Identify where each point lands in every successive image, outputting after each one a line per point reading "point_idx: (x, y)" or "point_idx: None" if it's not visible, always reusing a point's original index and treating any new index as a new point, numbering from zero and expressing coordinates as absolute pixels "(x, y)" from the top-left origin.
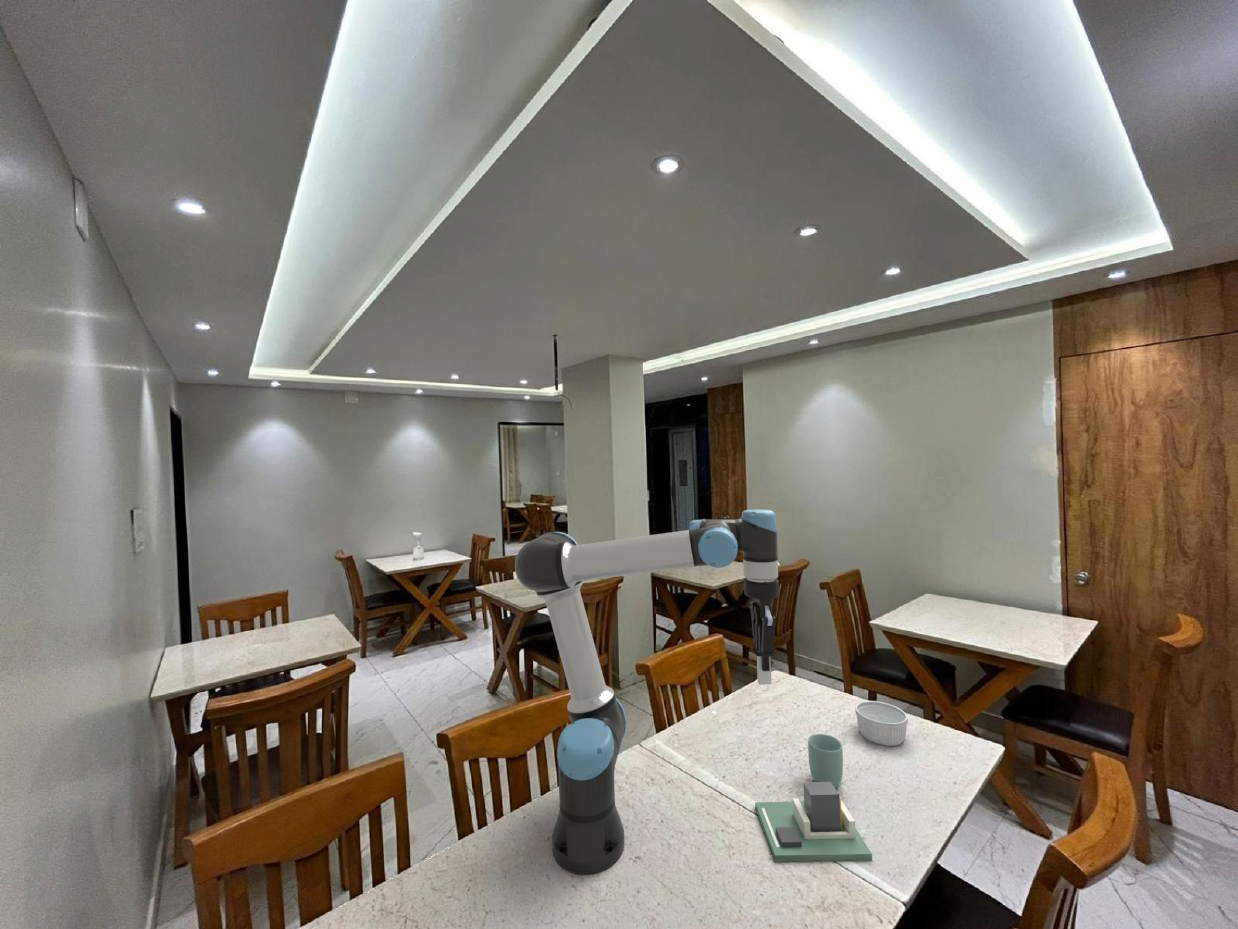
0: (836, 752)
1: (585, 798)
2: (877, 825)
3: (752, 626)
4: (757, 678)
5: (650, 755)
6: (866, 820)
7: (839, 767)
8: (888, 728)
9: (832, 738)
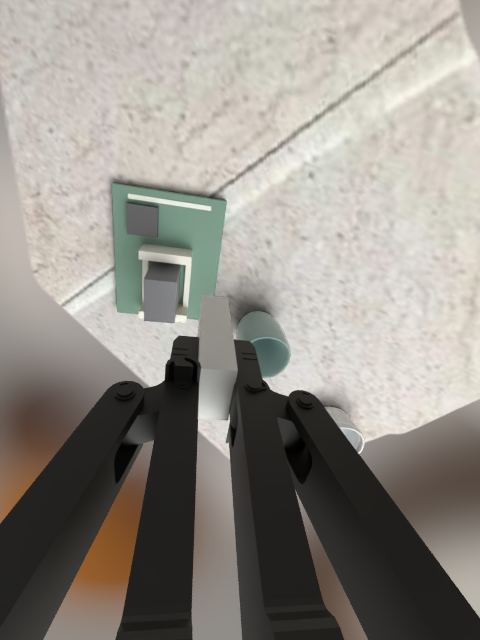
0: None
1: None
2: None
3: (383, 502)
4: (228, 302)
5: (432, 16)
6: (183, 335)
7: None
8: None
9: (274, 372)
